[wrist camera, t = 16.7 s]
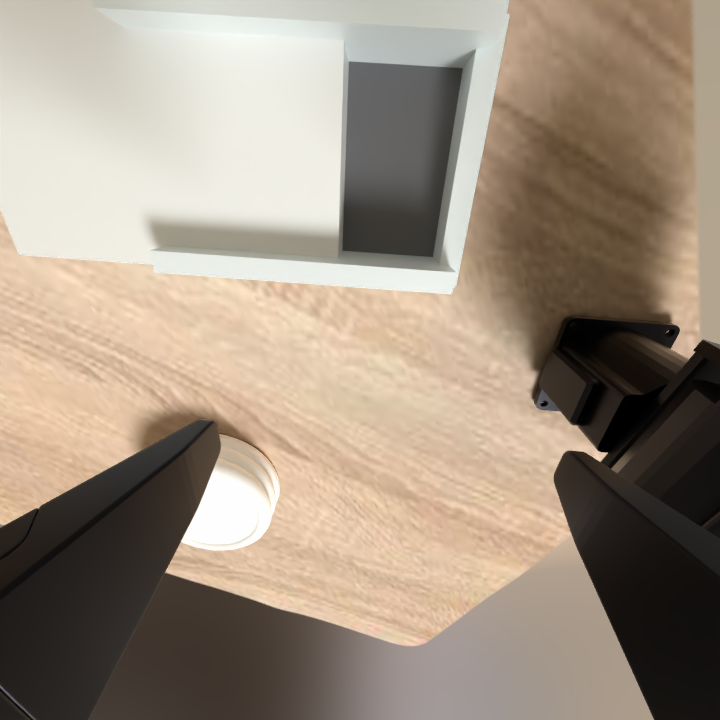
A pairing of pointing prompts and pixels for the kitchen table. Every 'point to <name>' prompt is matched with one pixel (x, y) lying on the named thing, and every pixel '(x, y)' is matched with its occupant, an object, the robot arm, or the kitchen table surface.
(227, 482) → the white short cylinder
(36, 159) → the channel
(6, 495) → the kitchen table surface
